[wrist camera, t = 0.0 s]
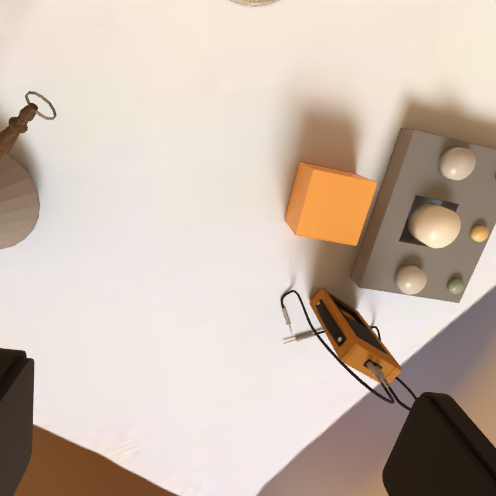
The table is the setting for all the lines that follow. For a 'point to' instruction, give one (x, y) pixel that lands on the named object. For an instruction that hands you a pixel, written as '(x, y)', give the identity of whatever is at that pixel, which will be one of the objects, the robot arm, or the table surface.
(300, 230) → the orange block
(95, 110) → the table surface
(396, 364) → the multimeter
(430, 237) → the button
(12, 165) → the coffee pot
